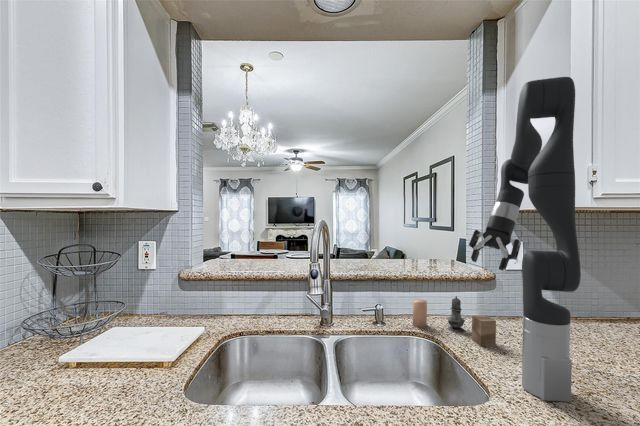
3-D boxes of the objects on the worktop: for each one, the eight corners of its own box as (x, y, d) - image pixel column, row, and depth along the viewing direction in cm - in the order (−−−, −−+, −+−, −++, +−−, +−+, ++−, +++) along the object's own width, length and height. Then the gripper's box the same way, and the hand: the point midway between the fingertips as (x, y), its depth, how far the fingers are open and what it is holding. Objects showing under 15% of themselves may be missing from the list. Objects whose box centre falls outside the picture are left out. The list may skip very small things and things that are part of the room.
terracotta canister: (428, 327, 117) (428, 303, 117) (414, 327, 118) (414, 302, 118) (424, 323, 122) (425, 299, 122) (411, 322, 123) (411, 298, 123)
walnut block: (495, 345, 103) (496, 320, 102) (480, 346, 102) (481, 321, 102) (486, 339, 108) (486, 315, 107) (471, 339, 107) (472, 315, 107)
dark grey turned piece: (462, 333, 112) (462, 299, 112) (444, 329, 116) (445, 296, 115) (466, 328, 117) (467, 295, 116) (449, 325, 120) (450, 292, 120)
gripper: (476, 210, 108) (461, 256, 107) (524, 219, 98) (506, 270, 97) (485, 217, 113) (469, 261, 112) (530, 226, 103) (514, 275, 102)
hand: (487, 265), depth 105 cm, fingers open, 8 cm apart
